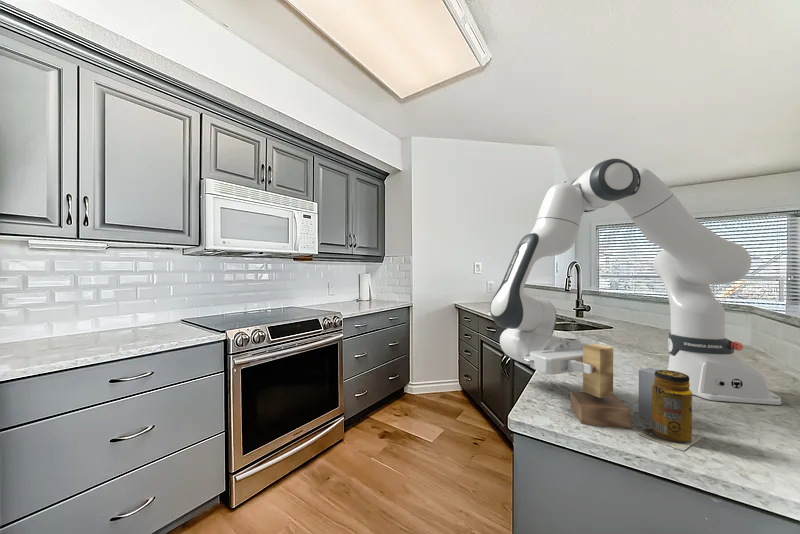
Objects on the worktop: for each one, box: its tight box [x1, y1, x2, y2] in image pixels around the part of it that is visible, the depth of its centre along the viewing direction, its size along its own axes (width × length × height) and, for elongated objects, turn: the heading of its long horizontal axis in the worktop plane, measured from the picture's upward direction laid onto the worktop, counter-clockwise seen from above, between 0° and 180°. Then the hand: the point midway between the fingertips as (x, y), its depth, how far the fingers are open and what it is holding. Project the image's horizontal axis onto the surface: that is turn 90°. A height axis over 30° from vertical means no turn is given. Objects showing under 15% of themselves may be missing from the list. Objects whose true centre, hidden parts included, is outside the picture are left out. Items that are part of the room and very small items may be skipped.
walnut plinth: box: [569, 390, 632, 429], centre depth 75 cm, size 9×9×4 cm
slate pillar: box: [638, 367, 658, 422], centre depth 74 cm, size 4×4×10 cm
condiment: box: [636, 369, 701, 452], centre depth 66 cm, size 7×8×12 cm
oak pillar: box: [582, 343, 614, 398], centre depth 75 cm, size 4×4×10 cm
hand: (602, 368), depth 74 cm, fingers closed on oak pillar, 4 cm apart
